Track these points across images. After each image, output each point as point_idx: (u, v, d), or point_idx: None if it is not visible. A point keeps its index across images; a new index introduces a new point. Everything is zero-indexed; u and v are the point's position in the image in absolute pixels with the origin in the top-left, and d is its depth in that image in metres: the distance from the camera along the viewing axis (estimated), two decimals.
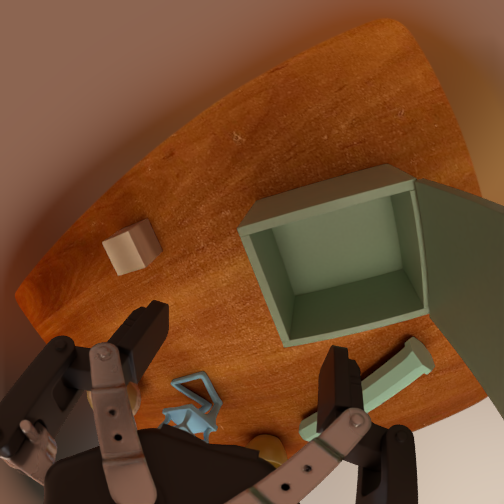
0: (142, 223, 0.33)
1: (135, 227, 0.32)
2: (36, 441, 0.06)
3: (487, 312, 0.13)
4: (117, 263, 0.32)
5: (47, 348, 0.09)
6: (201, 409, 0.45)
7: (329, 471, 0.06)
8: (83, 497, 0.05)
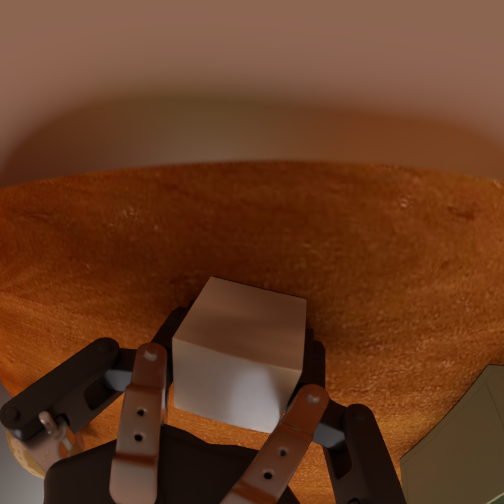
0: None
1: None
2: (53, 433, 0.06)
3: None
4: (192, 395, 0.11)
5: (90, 347, 0.10)
6: None
7: (304, 451, 0.07)
8: (83, 497, 0.05)
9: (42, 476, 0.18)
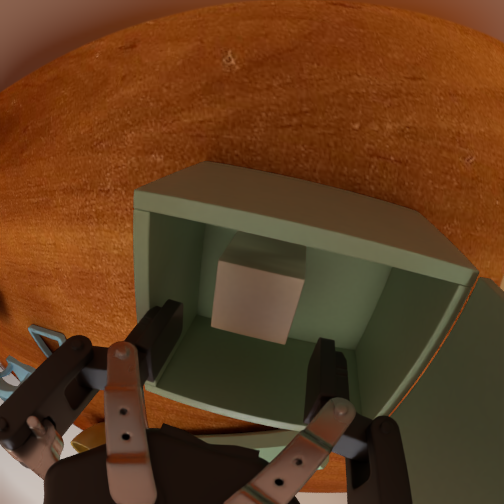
0: (305, 258, 0.18)
1: (304, 268, 0.16)
2: (43, 437, 0.06)
3: None
4: (226, 310, 0.17)
5: (63, 346, 0.09)
6: None
7: (320, 462, 0.07)
8: (83, 497, 0.05)
9: None
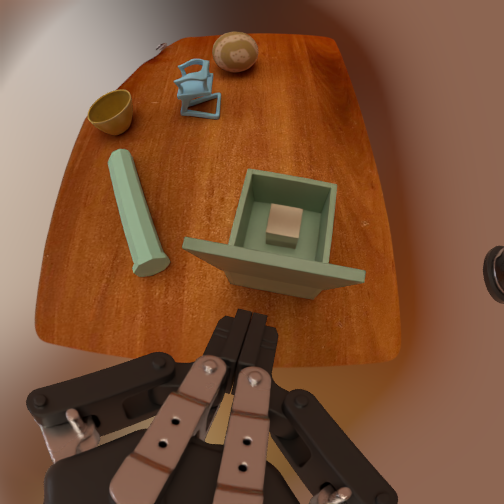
0: (294, 245, 0.43)
1: (296, 241, 0.42)
2: (77, 431, 0.07)
3: None
4: (281, 210, 0.42)
5: (144, 358, 0.10)
6: None
7: (266, 434, 0.07)
8: (83, 497, 0.05)
9: (231, 41, 0.51)
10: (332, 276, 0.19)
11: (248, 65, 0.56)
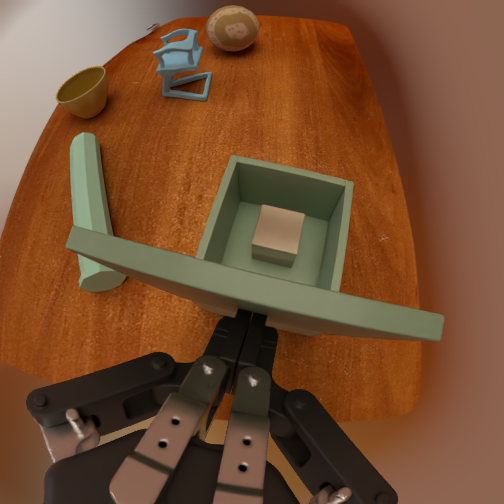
0: (291, 263, 0.32)
1: (293, 258, 0.30)
2: (77, 430, 0.07)
3: None
4: (275, 214, 0.30)
5: (144, 358, 0.10)
6: None
7: (266, 434, 0.07)
8: (83, 497, 0.05)
9: (228, 14, 0.40)
10: (379, 329, 0.08)
11: (246, 43, 0.45)
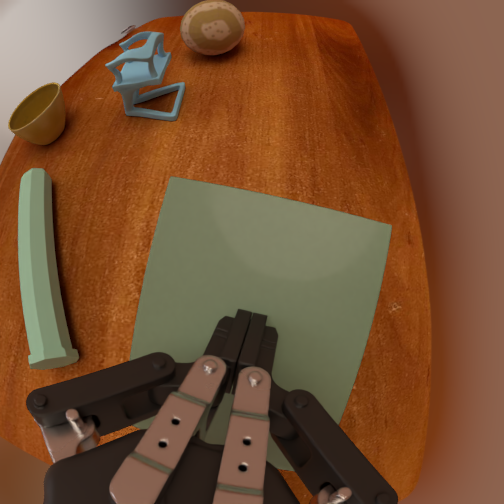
0: None
1: None
2: (77, 430, 0.07)
3: None
4: None
5: (144, 358, 0.10)
6: (137, 91, 0.35)
7: (266, 434, 0.07)
8: (83, 497, 0.05)
9: (205, 10, 0.32)
10: (354, 216, 0.15)
11: (228, 44, 0.37)
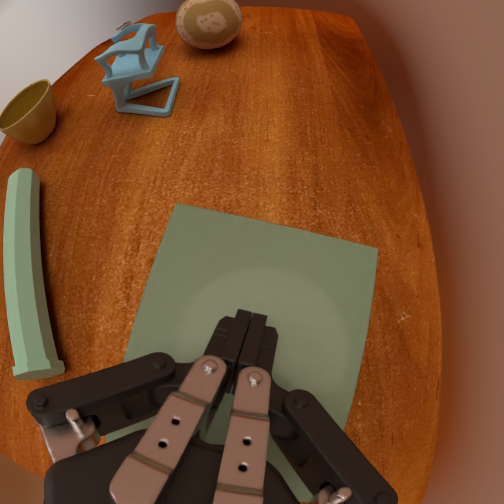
0: None
1: None
2: (77, 431, 0.07)
3: None
4: None
5: (144, 358, 0.10)
6: (129, 86, 0.33)
7: (267, 434, 0.07)
8: (83, 497, 0.05)
9: (200, 2, 0.29)
10: (343, 241, 0.17)
11: (225, 37, 0.34)
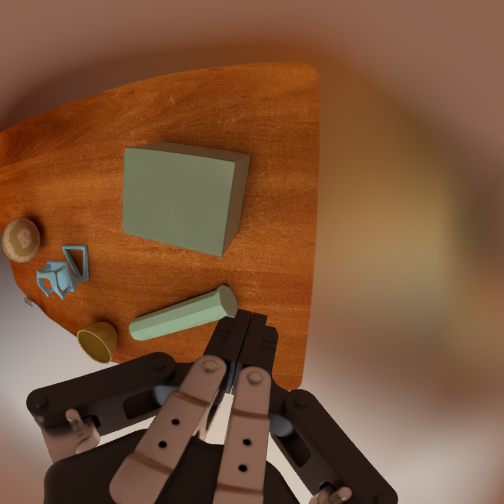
0: None
1: None
2: (77, 430, 0.07)
3: None
4: None
5: (144, 358, 0.10)
6: (73, 276, 0.57)
7: (266, 434, 0.07)
8: (83, 497, 0.05)
9: (13, 249, 0.48)
10: (124, 163, 0.36)
11: (31, 225, 0.52)
